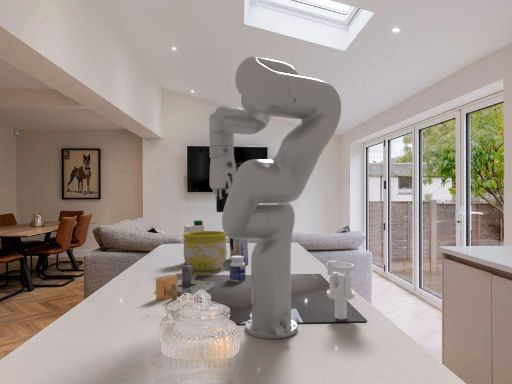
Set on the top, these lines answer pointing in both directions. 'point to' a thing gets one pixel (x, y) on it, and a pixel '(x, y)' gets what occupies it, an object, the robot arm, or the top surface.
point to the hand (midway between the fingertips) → (222, 211)
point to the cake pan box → (239, 249)
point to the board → (183, 280)
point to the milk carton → (194, 227)
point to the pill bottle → (237, 269)
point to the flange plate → (178, 286)
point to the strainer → (340, 286)
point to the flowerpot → (205, 251)
